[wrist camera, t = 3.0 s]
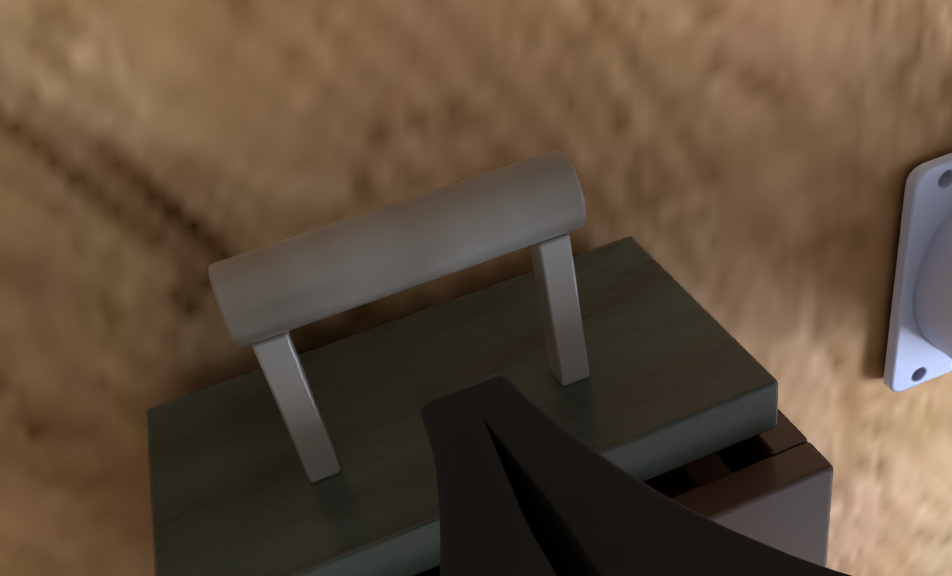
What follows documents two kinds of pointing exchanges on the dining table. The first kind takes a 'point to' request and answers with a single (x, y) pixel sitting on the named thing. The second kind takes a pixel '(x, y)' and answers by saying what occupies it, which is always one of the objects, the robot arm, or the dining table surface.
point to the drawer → (433, 379)
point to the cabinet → (767, 492)
